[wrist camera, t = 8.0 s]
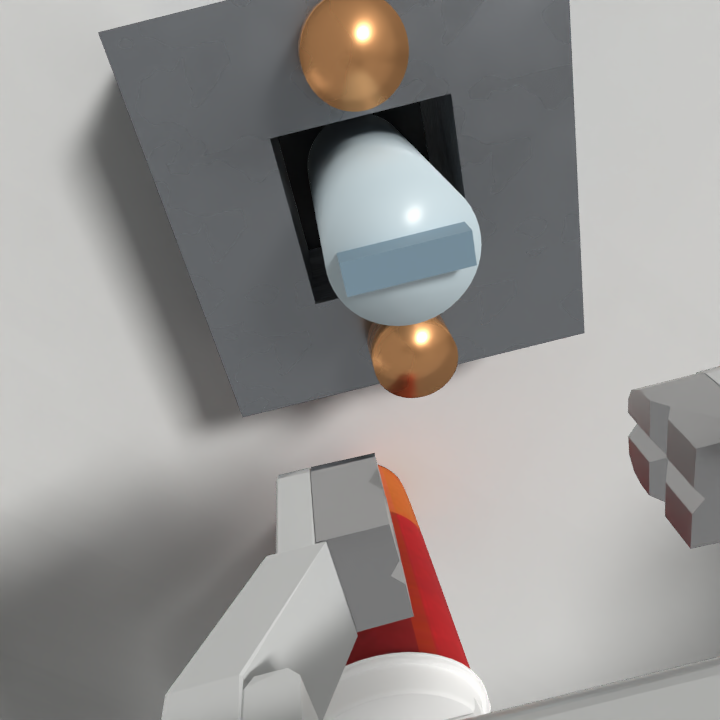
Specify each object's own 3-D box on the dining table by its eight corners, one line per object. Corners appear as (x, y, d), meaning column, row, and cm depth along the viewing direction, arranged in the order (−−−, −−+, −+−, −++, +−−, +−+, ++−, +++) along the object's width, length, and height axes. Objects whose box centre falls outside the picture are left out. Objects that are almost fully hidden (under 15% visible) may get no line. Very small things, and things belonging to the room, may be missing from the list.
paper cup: (274, 542, 37) (273, 805, 25) (306, 434, 34) (324, 677, 21) (401, 559, 39) (459, 811, 27) (444, 458, 35) (533, 694, 23)
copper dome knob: (375, -17, 21) (398, -23, 17) (392, 81, 22) (417, 97, 18) (285, 5, 21) (287, 5, 17) (308, 103, 22) (315, 123, 18)
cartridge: (399, 101, 26) (479, 162, 16) (417, 205, 28) (497, 316, 18) (295, 127, 26) (307, 204, 16) (321, 228, 28) (346, 354, 18)
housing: (502, -65, 24) (565, -85, 19) (531, 277, 31) (584, 333, 26) (137, 27, 24) (98, 32, 19) (248, 347, 31) (242, 417, 26)
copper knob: (425, 267, 26) (452, 313, 22) (436, 332, 27) (463, 386, 23) (352, 285, 26) (365, 334, 22) (367, 350, 27) (382, 406, 23)
